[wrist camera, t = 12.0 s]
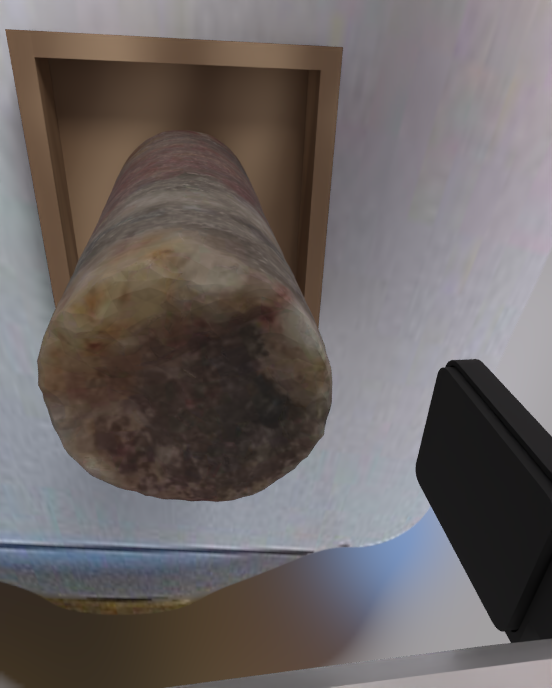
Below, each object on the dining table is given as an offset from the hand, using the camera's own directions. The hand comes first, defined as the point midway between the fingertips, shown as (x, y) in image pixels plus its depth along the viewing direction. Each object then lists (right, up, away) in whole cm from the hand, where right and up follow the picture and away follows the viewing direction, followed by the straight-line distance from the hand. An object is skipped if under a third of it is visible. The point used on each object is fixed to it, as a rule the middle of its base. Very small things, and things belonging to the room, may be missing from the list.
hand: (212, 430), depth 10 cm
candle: (-4, +10, +19) cm, 22 cm away
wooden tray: (-4, +10, +20) cm, 23 cm away
